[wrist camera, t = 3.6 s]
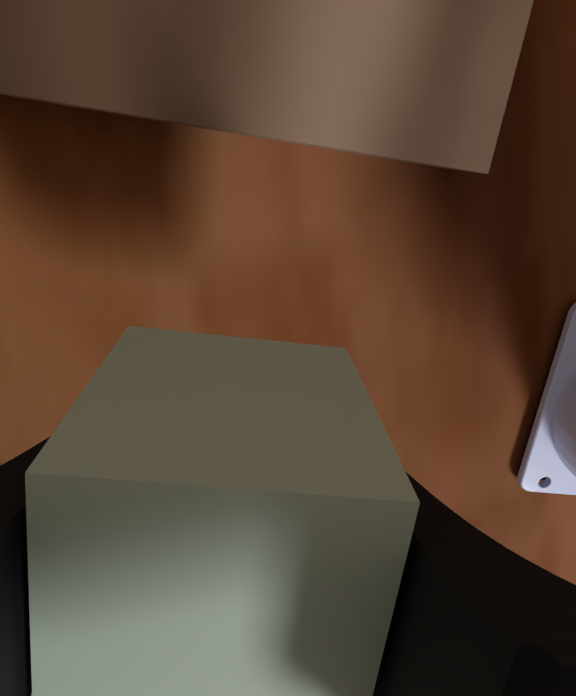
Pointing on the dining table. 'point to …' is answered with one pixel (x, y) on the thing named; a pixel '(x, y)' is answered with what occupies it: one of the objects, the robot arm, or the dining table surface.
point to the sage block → (215, 525)
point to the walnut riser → (281, 68)
